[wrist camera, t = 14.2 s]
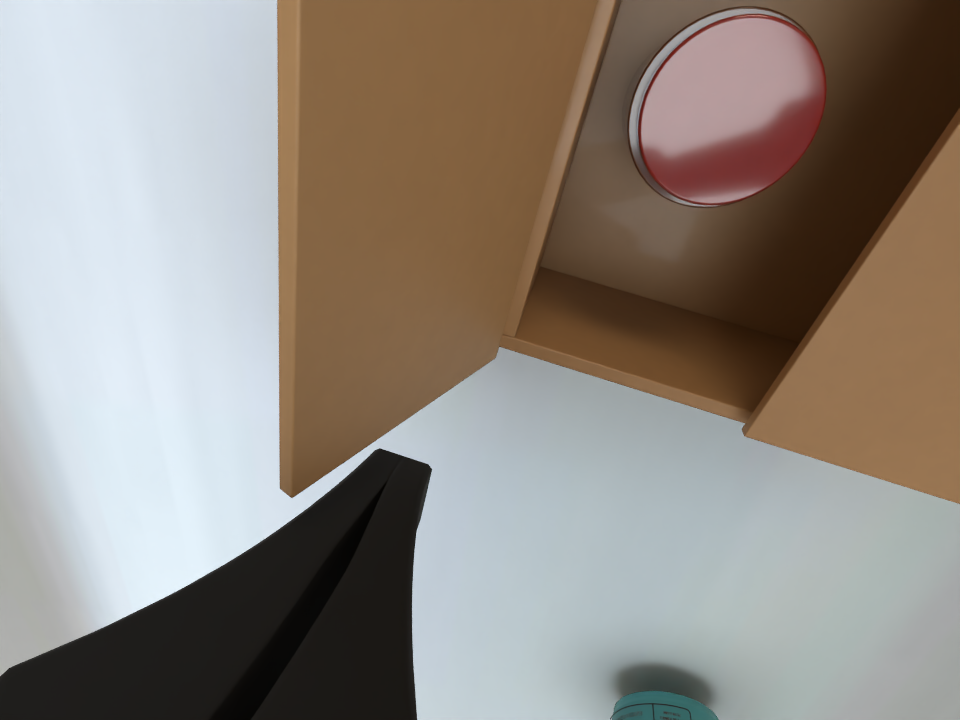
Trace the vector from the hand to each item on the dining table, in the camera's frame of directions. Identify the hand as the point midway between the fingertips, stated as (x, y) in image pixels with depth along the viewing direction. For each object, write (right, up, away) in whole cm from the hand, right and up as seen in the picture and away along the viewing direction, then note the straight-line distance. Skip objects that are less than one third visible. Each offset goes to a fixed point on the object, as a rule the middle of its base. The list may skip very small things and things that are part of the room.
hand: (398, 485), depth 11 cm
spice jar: (+8, +11, +3) cm, 14 cm away
